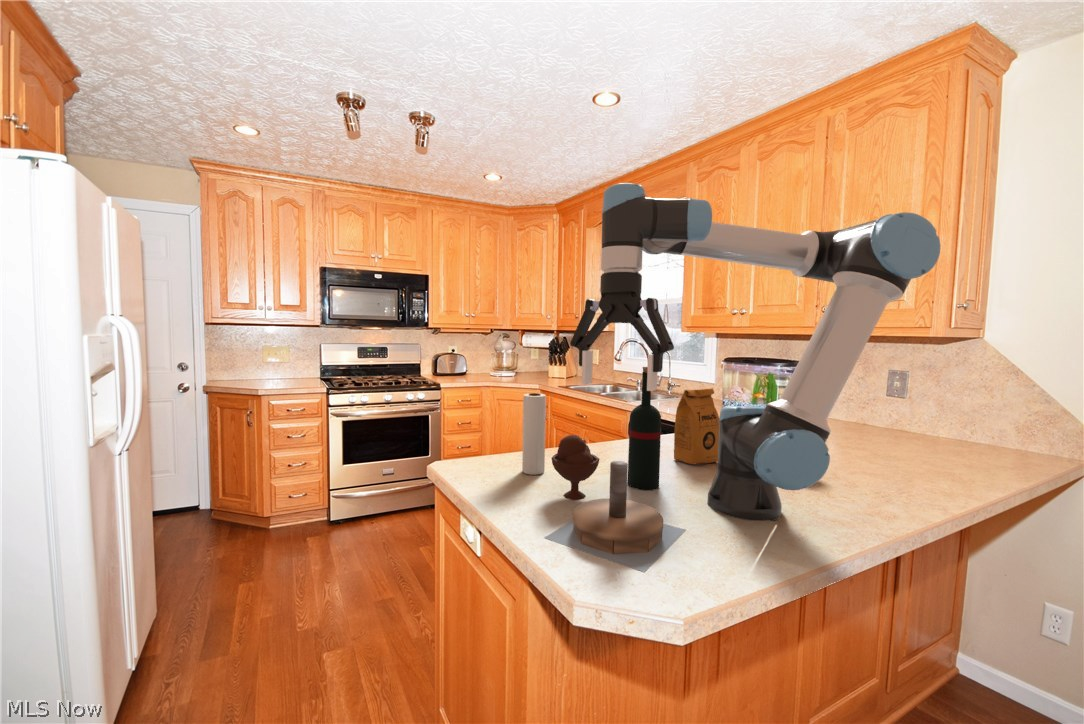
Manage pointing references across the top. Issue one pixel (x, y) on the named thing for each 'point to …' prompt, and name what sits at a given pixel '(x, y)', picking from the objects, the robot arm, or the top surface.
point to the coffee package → (696, 428)
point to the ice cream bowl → (574, 464)
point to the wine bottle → (644, 442)
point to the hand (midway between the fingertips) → (617, 386)
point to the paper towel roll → (534, 433)
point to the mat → (631, 560)
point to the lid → (618, 519)
